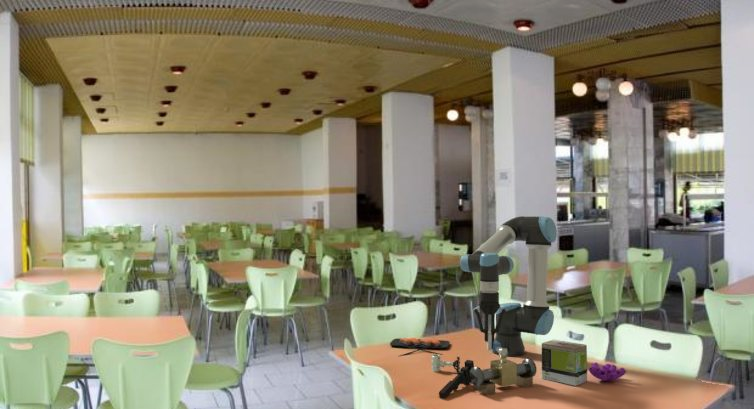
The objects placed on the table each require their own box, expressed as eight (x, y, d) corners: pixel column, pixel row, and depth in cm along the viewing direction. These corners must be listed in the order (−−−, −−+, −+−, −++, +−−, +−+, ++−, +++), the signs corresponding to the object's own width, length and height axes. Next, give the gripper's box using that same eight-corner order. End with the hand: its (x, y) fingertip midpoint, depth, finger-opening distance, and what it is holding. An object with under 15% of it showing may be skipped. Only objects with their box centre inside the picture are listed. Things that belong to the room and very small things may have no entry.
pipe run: (523, 380, 239) (523, 350, 239) (537, 385, 232) (537, 355, 232) (468, 389, 228) (468, 359, 227) (481, 395, 220) (481, 364, 220)
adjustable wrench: (439, 410, 220) (469, 379, 240) (446, 411, 218) (475, 380, 238) (437, 389, 218) (467, 359, 238) (444, 390, 217) (473, 360, 237)
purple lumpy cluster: (614, 384, 243) (629, 368, 240) (605, 394, 231) (621, 377, 228) (591, 364, 248) (606, 348, 245) (581, 373, 236) (597, 356, 233)
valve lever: (508, 357, 228) (508, 349, 228) (500, 357, 228) (500, 350, 228) (495, 346, 246) (495, 339, 246) (488, 346, 246) (488, 339, 245)
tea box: (587, 381, 238) (587, 344, 237) (575, 387, 231) (575, 348, 230) (553, 373, 248) (553, 338, 248) (540, 378, 241) (540, 342, 241)
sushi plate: (450, 344, 301) (450, 336, 301) (443, 360, 272) (443, 351, 272) (394, 341, 308) (394, 334, 308) (381, 356, 278) (381, 348, 278)
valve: (429, 372, 251) (458, 374, 248) (429, 357, 251) (458, 358, 248) (432, 368, 257) (460, 370, 254) (432, 353, 257) (460, 354, 254)
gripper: (474, 292, 238) (474, 351, 238) (507, 292, 237) (507, 352, 238) (472, 290, 245) (472, 347, 245) (503, 290, 245) (503, 347, 245)
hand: (489, 349), depth 242 cm, fingers closed
